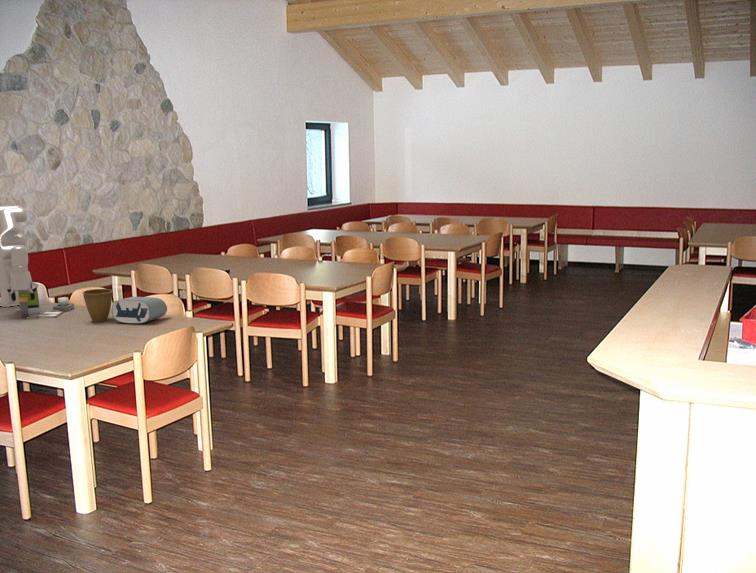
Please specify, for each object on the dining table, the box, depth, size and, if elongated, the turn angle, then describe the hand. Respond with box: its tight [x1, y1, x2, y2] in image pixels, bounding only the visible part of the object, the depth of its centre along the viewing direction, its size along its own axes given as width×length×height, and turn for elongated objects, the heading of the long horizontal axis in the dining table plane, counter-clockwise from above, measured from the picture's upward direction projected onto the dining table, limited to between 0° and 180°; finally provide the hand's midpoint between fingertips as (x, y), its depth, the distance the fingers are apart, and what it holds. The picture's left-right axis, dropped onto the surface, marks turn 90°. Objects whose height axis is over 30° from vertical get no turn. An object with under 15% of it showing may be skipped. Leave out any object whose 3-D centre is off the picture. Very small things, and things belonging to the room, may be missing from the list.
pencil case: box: [111, 296, 168, 324], centre depth 405 cm, size 22×19×13 cm
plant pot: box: [82, 288, 113, 323], centre depth 406 cm, size 15×15×16 cm
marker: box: [19, 297, 30, 319], centre depth 417 cm, size 4×4×11 cm
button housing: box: [52, 302, 75, 312], centre depth 436 cm, size 9×9×3 cm
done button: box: [57, 296, 69, 306], centre depth 435 cm, size 5×5×4 cm
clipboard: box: [35, 309, 65, 319], centre depth 423 cm, size 14×11×1 cm
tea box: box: [18, 285, 41, 315], centre depth 431 cm, size 15×10×15 cm, turn 25°
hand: (23, 300), depth 415 cm, fingers open, 9 cm apart
